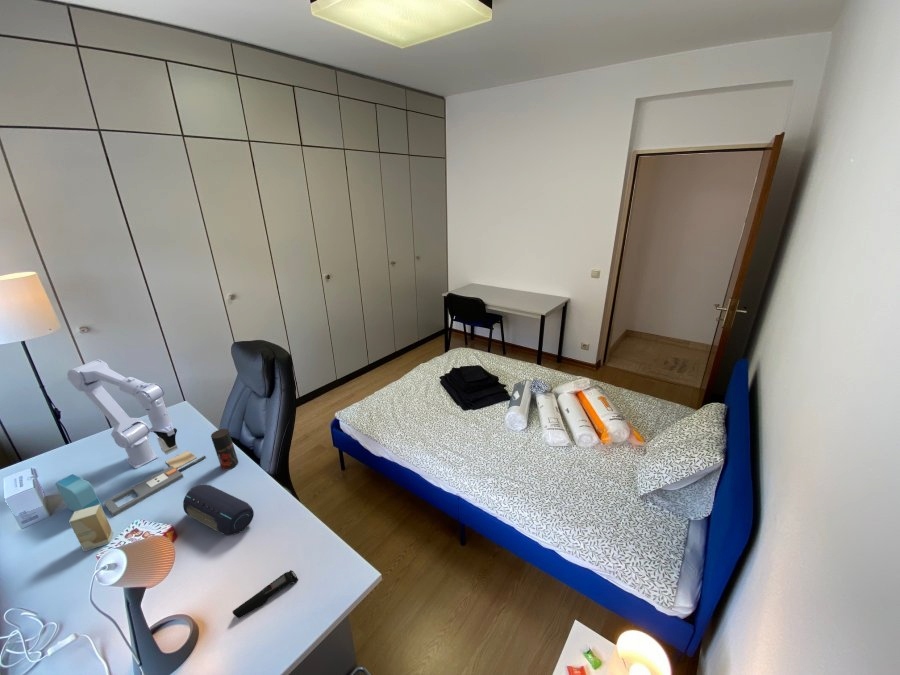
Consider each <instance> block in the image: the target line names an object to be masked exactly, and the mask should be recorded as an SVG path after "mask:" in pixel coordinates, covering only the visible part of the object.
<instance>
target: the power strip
mask: <svg viewBox="0 0 900 675" xmlns="http://www.w3.org/2000/svg"><path fill="white" fill-rule="evenodd" d="M206 458H207V456H206V455H203V456H201V457H200V458H198V459H195V460H193V461H191V463H190V462H189V463H187V464H186V465H184V466H182V467H180V468H177V469H175V468H174V467H173V466H169V467H167V468H165V469H162V470H160V471H159V472H158V473H156V474H154V475H152V476H150V477H148V478H146V479H144V480H142V481H140V482H139V483H137V484H135V485H133V486H131V487H129V488H127V489H126V490H123V491H122V492H120V493H118V494H115V495H114V496H112V497H110V498H108V499H107V500H105V501H103V505H104V506H105V508H107V510H108V511H109V513H111V515H112V516H114V517H116V516H117V515H119V514H121V513H123V512H124V511H126V510H129V509H131V507H134V506H135V505H137V504H138V503H141V502H143V501H144V500H145V499H147V498H150V497H151V496H153V495H155V494H157V493H158V492H160V491H161V490H164V489H166V488H167V487H169V486H170V485H172V484H174V483H176V482H178V481H179V480H181V479H183V478H184V474H183V473H182V471H184V470H186V469H188V468H191V467H192V466H194V465H196V464H197V463H199V462H201V461H203V460H204V459H206ZM133 493H134V494H136V495H137V496H136V497H135V498H133V499H131V500H129V501H127V502H125V503H123V504H122V505H119V506H118V505H117V504H116V502H118V501H120V500H122V499H124V498H126V497H127V496H129V495H131V494H133Z"/></svg>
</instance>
